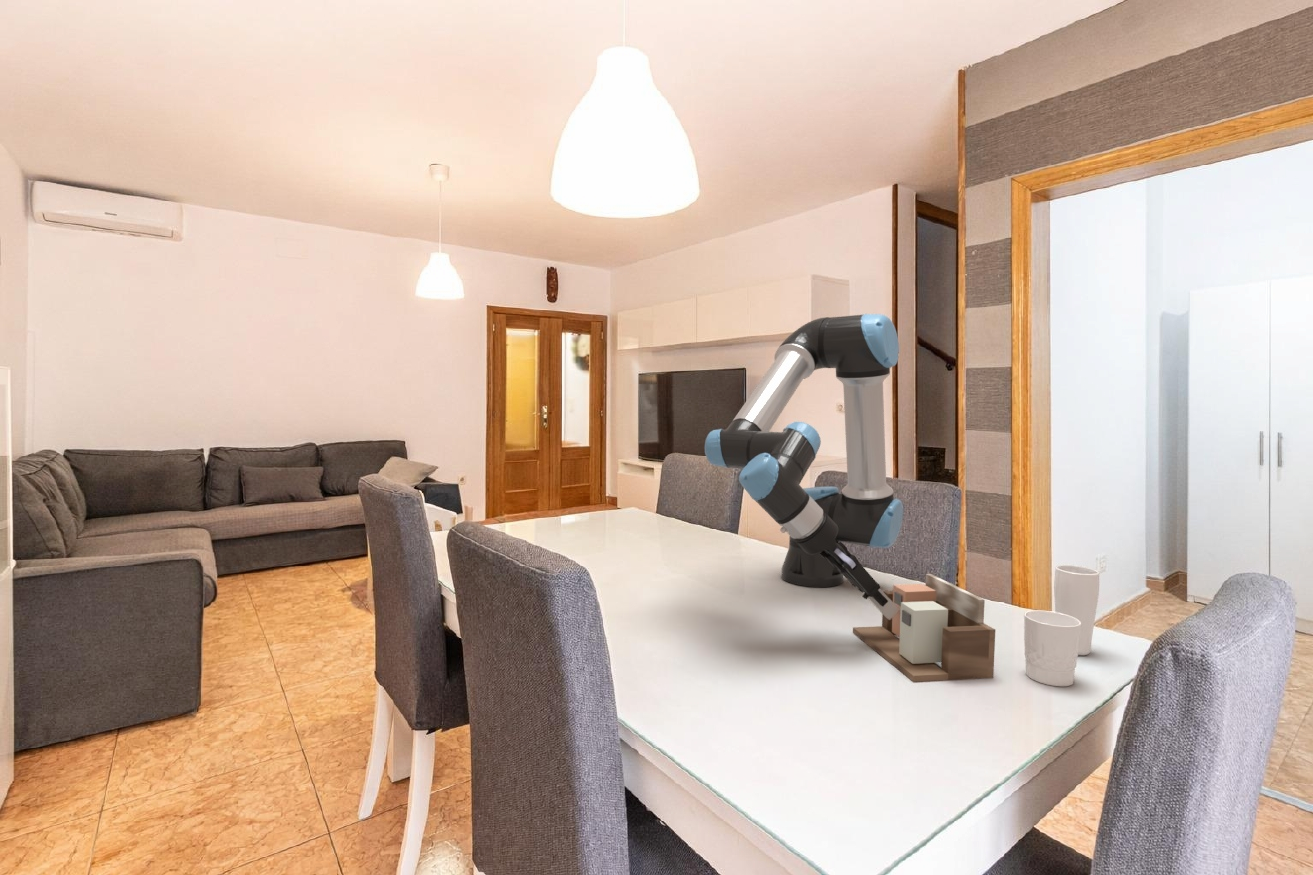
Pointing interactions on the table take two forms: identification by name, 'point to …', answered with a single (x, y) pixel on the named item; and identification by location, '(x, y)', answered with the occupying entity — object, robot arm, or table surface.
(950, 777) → the table surface
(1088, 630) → the drinking glass
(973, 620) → the wooden rack
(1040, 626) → the white cup
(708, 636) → the table surface
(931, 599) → the peach rectangular block
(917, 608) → the cream rectangular block
